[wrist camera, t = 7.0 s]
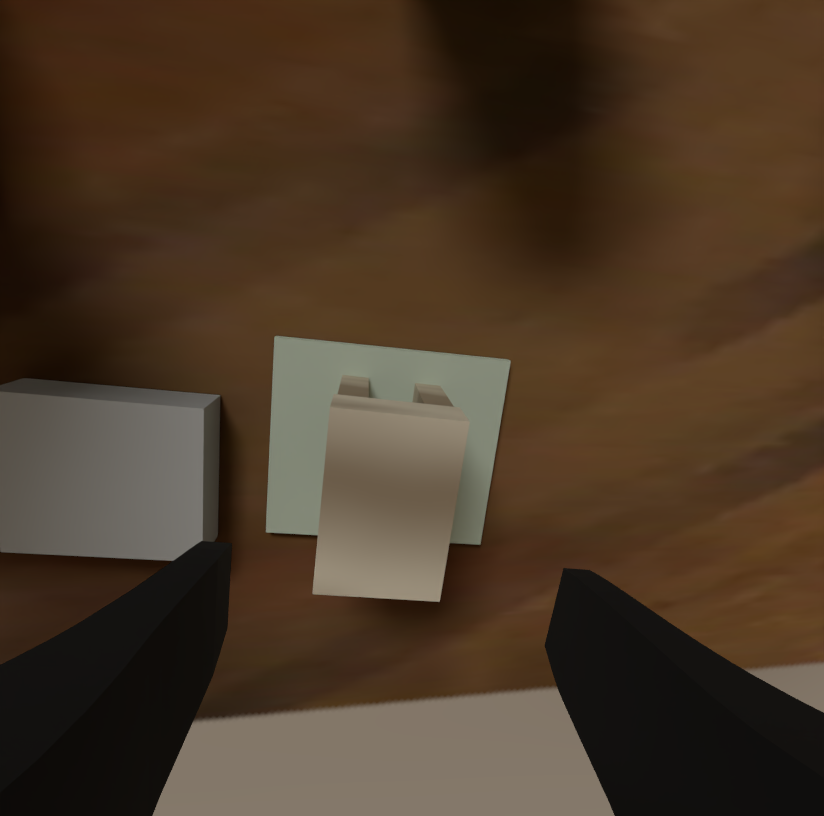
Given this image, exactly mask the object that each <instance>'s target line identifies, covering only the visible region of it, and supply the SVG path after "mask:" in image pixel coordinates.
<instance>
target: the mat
mask: <svg viewBox="0 0 824 816" xmlns="http://www.w3.org/2000/svg"><path fill="white" fill-rule="evenodd" d="M510 363H511V361H510V360H508V359H499V358H489V357H479V356H469V355H460V354H450V353H440V352H430V351H421V350H411V349H401V348H391V347H381V346H372V345H362V344H352V343H342V342H333V341H323V340H313V339H303V338H293V337H284V336H275V338H274V360H273V383H272V405H271V428H270V450H269V472H268V495H267V517H266V532H270V533H287V534H304V535H318V529H319V518H320V508H321V497H322V486H323V476H324V465H325V454H326V443H327V433H328V422H329V411H330V405H331V402H332V398H333V395H334V394H338V390H339V386H340V382H341V378H342V375H348V376H357V377H366V378H369V398H376V399H385V400H395V401H404V402H413V394H414V387H415V383H420V384H429V385H438V386H441V388H442V389H443V391H444V392H445V394H446V395H447V397H448V398H449V400H450V401H451V403H452V404H453V406H454V407H460V408H461V410H462V411H463V413H464V414H465V416H466V417H467V418H468V420H469V421H470V424H469V430H468V436H467V442H466V448H465V454H464V460H463V466H462V472H461V478H460V484H459V489H458V495H457V501H456V507H455V513H454V519H453V525H452V531H451V537H450V543H458V544H476V545H480V544H481V538H482V531H483V525H484V519H485V513H486V507H487V501H488V495H489V489H490V483H491V477H492V471H493V465H494V459H495V453H496V447H497V441H498V435H499V429H500V423H501V417H502V411H503V405H504V399H505V393H506V387H507V381H508V375H509V369H510Z"/></svg>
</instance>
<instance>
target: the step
mask: <svg viewBox="0 0 824 816" xmlns="http://www.w3.org/2000/svg"><path fill="white" fill-rule="evenodd" d="M219 446H220V395H212V394H200V393H189V392H178V391H166V390H155V389H144V388H132V387H121V386H109V385H98V384H87V383H75V382H64V381H53V380H41V379H30V378H22V379H19V380H16V381H12V382H9V383H6V384H2V385H0V551H1V552H9V553H29V554H48V555H68V556H88V557H107V558H127V559H146V560H166V561H174V560H175V559H176V558H178V557H179V556H181V555H182V554H183V553H185V552H186V551H187V550H189V549H190V548H192V547H193V546H195V545H196V544H198V543H199V542H201V541H209V542H214V541H215V540H216V538H217V536H218V503H219Z"/></svg>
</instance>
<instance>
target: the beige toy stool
mask: <svg viewBox="0 0 824 816" xmlns="http://www.w3.org/2000/svg"><path fill="white" fill-rule="evenodd" d="M469 424H470V421H469V420H468V418H467V417H466V416H465V414H464V413H463V411H462V410H461V408H460V407H454V406H453V404H452V403H451V401H450V400H449V398H448V397H447V395H446V394H445V392H444V391H443V389H442V388H441V386H438V385H429V384H420V383H415V387H414V394H413V402H404V401H395V400H385V399H376V398H369V378H366V377H357V376H348V375H342V378H341V382H340V386H339V390H338V394H334V395H333V398H332V402H331V405H330V411H329V422H328V433H327V443H326V454H325V465H324V476H323V486H322V497H321V508H320V518H319V529H318V540H317V551H316V561H315V572H314V583H313V593H312V594H318V595H335V596H351V597H368V598H385V599H401V600H418V601H435V602H440V597H441V591H442V585H443V579H444V573H445V567H446V561H447V555H448V549H449V543H450V537H451V531H452V525H453V519H454V513H455V507H456V501H457V495H458V489H459V484H460V478H461V472H462V466H463V460H464V454H465V448H466V442H467V436H468V430H469Z"/></svg>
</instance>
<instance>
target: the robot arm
mask: <svg viewBox="0 0 824 816" xmlns="http://www.w3.org/2000/svg"><path fill="white" fill-rule="evenodd" d="M231 551H232V543H222V542H209V541H201V542H199V543H198V544H196V545H195V546H193V547H192V548H190V549H189V550H187V551H186V552H185V553H183V554H182V555H181V556H179V557H178V558H176V559H175V560H174V561H172V562H171V563H169V564H168V565H167V566H165V567H164V568H162V569H161V570H160V571H158V572H157V573H155V574H154V575H152V576H151V577H150V578H148V579H147V580H145V581H144V582H142V583H141V584H139V585H138V586H137V587H135V588H134V589H132V590H131V591H129V592H128V593H126V594H125V595H123V596H121V597H120V598H118V599H117V600H115V601H113V602H112V603H110V604H109V605H107V606H105V607H104V608H102V609H101V610H99V611H97V612H96V613H94V614H93V615H91V616H89V617H88V618H86V619H85V620H83V621H81V622H80V623H78V624H76V625H75V626H73V627H71V628H69V629H68V630H66V631H64V632H62V633H61V634H59V635H57V636H55V637H53V638H52V639H50V640H48V641H46V642H44V643H42V644H40V645H38V646H36V647H35V648H33V649H31V650H29V651H27V652H25V653H23V654H21V655H19V656H17V657H15V658H13V659H11V660H9V661H7V662H5V663H3V664H1V665H0V816H152V815H153V812H154V810H155V807H156V805H157V802H158V800H159V797H160V795H161V793H162V790H163V788H164V786H165V784H166V781H167V779H168V777H169V774H170V772H171V770H172V768H173V765H174V763H175V761H176V759H177V756H178V754H179V752H180V749H181V747H182V745H183V743H184V740H185V738H186V736H187V734H188V731H189V729H190V727H191V725H192V722H193V720H194V718H195V716H196V713H197V711H198V709H199V706H200V704H201V702H202V699H203V697H204V695H205V693H206V690H207V688H208V686H209V683H210V681H211V679H212V676H213V673H214V670H215V667H216V664H217V661H218V657H219V654H220V651H221V648H222V644H223V641H224V637H225V634H226V631H227V625H228V607H229V588H230V570H231ZM545 648H546V651H547V655H548V658H549V662H550V665H551V669H552V672H553V675H554V678H555V681H556V684H557V687H558V690H559V693H560V695H561V697H562V700H563V702H564V704H565V706H566V709H567V711H568V713H569V715H570V718H571V720H572V722H573V724H574V726H575V729H576V731H577V733H578V735H579V737H580V739H581V742H582V744H583V746H584V748H585V751H586V753H587V755H588V757H589V759H590V761H591V764H592V766H593V768H594V770H595V772H596V774H597V777H598V779H599V781H600V783H601V785H602V788H603V790H604V792H605V794H606V796H607V798H608V801H609V803H610V805H611V808H612V810H613V813H614V815H615V816H824V713H823V712H821V711H819V710H817V709H815V708H813V707H811V706H809V705H807V704H805V703H803V702H801V701H799V700H798V699H795V698H794V697H792V696H790V695H788V694H786V693H785V692H783V691H781V690H779V689H777V688H775V687H774V686H771V685H770V684H768V683H766V682H765V681H763V680H761V679H759V678H757V677H755V676H754V675H752V674H750V673H748V672H747V671H745V670H743V669H742V668H740V667H738V666H736V665H735V664H733V663H731V662H730V661H728V660H727V659H725V658H723V657H722V656H720V655H719V654H717V653H715V652H714V651H712V650H711V649H709V648H707V647H706V646H704V645H703V644H701V643H699V642H698V641H696V640H695V639H693V638H692V637H690V636H689V635H687V634H686V633H684V632H683V631H681V630H680V629H678V628H677V627H675V626H674V625H672V624H671V623H669V622H668V621H666V620H665V619H663V618H662V617H660V616H659V615H657V614H656V613H654V612H653V611H652V610H650V609H649V608H647V607H646V606H644V605H643V604H641V603H640V602H638V601H637V600H636V599H634V598H633V597H631V596H630V595H628V594H627V593H625V592H624V591H622V590H621V589H619V588H618V587H616V586H615V585H613V584H612V583H610V582H609V581H607V580H606V579H604V578H602V577H601V576H599V575H597V574H596V573H594V572H592V571H590V570H581V569H568V568H564V569H563V573H562V577H561V581H560V585H559V589H558V593H557V597H556V601H555V605H554V610H553V614H552V618H551V622H550V626H549V630H548V634H547V638H546V642H545Z"/></svg>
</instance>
